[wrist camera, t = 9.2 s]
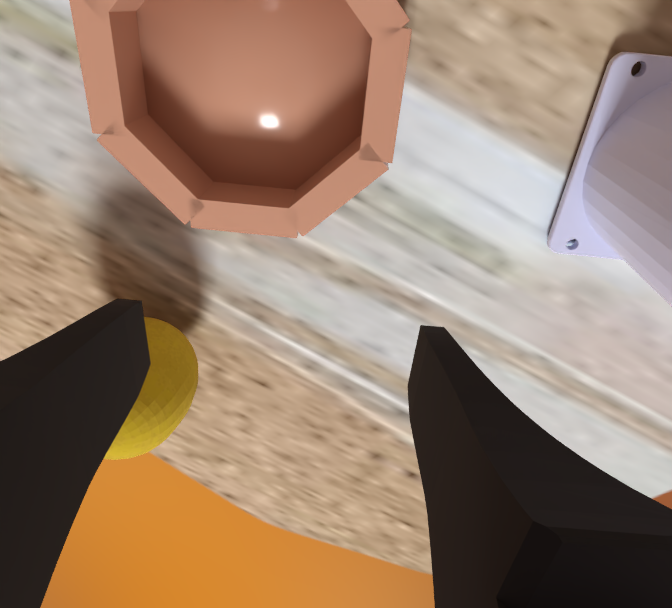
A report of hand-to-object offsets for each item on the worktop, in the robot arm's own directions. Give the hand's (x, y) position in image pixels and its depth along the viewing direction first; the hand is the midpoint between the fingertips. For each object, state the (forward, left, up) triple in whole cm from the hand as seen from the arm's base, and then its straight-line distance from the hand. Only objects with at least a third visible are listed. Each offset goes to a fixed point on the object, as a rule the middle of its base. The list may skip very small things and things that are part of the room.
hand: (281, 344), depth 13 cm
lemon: (+8, +8, -11) cm, 15 cm away
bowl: (+3, -5, -10) cm, 12 cm away
